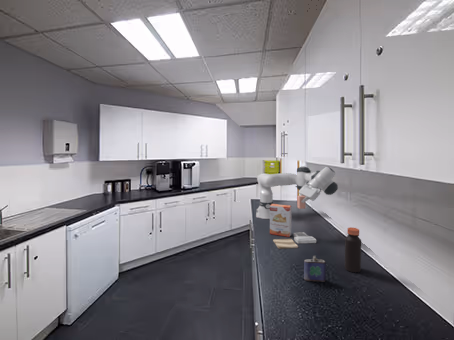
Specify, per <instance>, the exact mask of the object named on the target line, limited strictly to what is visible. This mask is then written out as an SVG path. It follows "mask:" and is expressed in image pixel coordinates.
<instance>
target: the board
mask: <svg viewBox="0 0 454 340" xmlns="http://www.w3.org/2000/svg"><path fill="white" fill-rule="evenodd" d="M272 241H273V243H274V244H275V246H276V247H277V248H278V249H279V250H280V249H298V248H299V246H298V243H297V242H296V241H295V240H294V239H292V238H279V239H278V238H275V239H273V240H272ZM296 243H297V244H296Z"/></svg>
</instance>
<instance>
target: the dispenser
mask: <svg viewBox="0 0 454 340" xmlns="http://www.w3.org/2000/svg"><path fill="white" fill-rule="evenodd" d="M293 241H294V242H295V243H297V245H298V244H316V243H317V239H316V238H315V237H314V236H311V235H308V234H307V233H306V232H304V231H303V232H293Z"/></svg>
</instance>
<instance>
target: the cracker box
mask: <svg viewBox="0 0 454 340" xmlns="http://www.w3.org/2000/svg"><path fill="white" fill-rule="evenodd" d="M269 235H274V236H280V237H287V238H290V237H291V236H292V205H289V204H277V203H273V204H271V205H270V219H269Z"/></svg>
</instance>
